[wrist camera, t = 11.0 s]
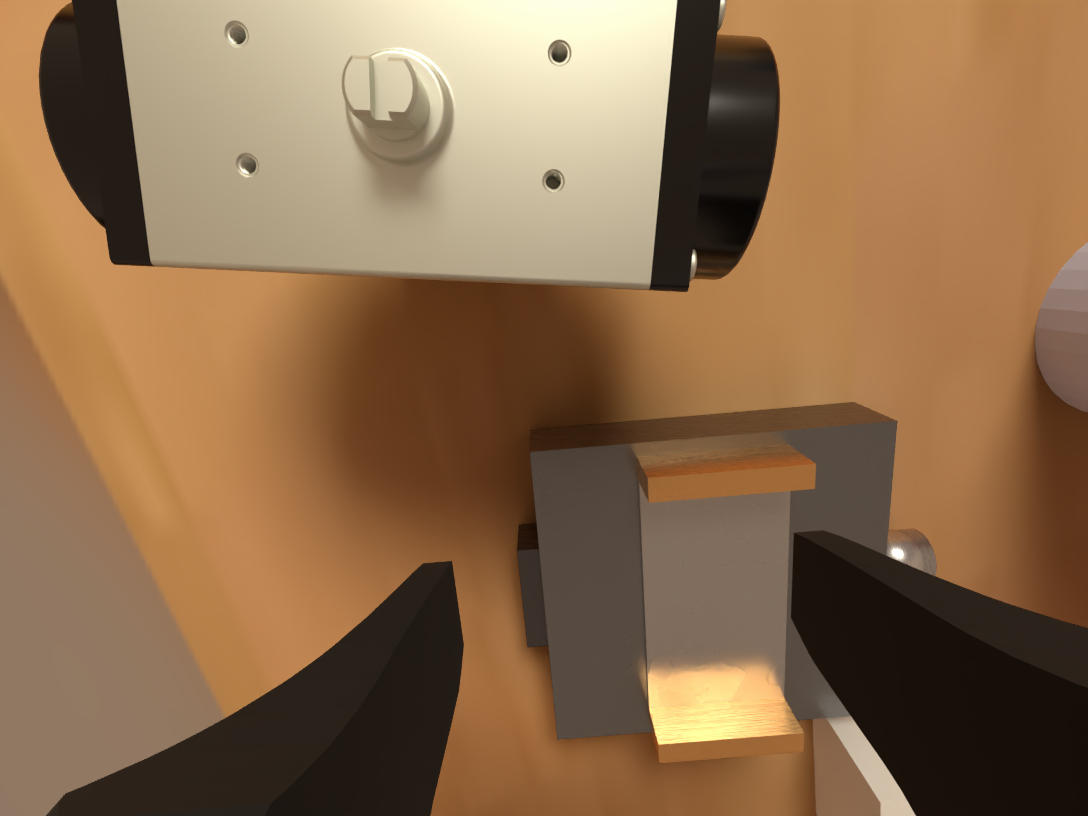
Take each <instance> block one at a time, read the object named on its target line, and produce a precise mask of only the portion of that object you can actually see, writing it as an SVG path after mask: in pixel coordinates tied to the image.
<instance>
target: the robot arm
mask: <svg viewBox="0 0 1088 816" xmlns="http://www.w3.org/2000/svg"><path fill="white" fill-rule="evenodd" d="M1035 351H1036V357H1037V363H1038V366H1039V369H1040V371H1041V373H1042V376H1043V378H1044V380H1045V382H1046V383H1047V384H1048V386H1049V387H1050V389H1051V390H1052V391H1053V393H1054V394H1056V395H1057V396H1058V397H1059V398H1060V399H1062V400H1063V401H1064V402H1065V403H1066V404H1068V405H1070V406H1072V407H1074V408H1076V409H1079V410H1081V411H1084V412H1087V413H1088V242H1087V243H1086V244H1085V245H1084V246H1083V247H1081V248H1080V249H1079V250H1078V251H1077V252H1075V254H1074V255H1073V256H1072V257H1071V258H1070V259H1069V260H1068V262H1067V263H1066V264H1065V265H1064V266H1063V267H1062V268H1061V270H1060V271H1059V273H1058V274H1057V276H1056V278H1055V279H1054V281H1053V282H1052V284H1051V285H1050V287H1049V289H1048V291H1047V293H1046V296H1045V298H1044V300H1043V303H1042V305H1041V307H1040V311H1039V315H1038V320H1037V324H1036V330H1035ZM791 619H792V621H793V623H794V625H795V627H796V629H797V631H798V633H799V635H800V637H801V639H802V641H803V643H804V645H805V647H806V649H807V651H808V653H809V655H810V656H811V658H812V660H813V662H814V663H815V665H816V666H817V668H818V669H819V671H820V672H821V674H822V675H823V677H824V678H825V680H826V681H827V683H828V684H829V686H830V687H831V688H832V690H833V691H834V693H835V694H836V696H837V697H838V699H839V700H840V701H841V703H842V704H843V706H844V707H845V709H846V710H847V711H848V713H849V714H850V716H851V717H852V719H853V720H854V721H855V723H856V724H857V726H858V727H859V729H860V730H861V731H862V733H863V734H864V736H865V737H866V739H867V740H868V741H869V743H870V744H871V746H872V747H873V749H874V750H875V751H876V753H877V754H878V756H879V757H880V759H881V760H882V761H883V763H884V764H885V766H886V767H887V769H888V771H889V772H890V774H891V775H892V777H893V778H894V780H895V781H896V783H897V785H898V786H899V788H900V789H901V791H902V793H903V794H904V796H905V798H906V800H907V801H908V803H909V805H910V807H911V808H912V810H913V812H914V814H915V815H916V816H1088V628H1085V627H1081V626H1078V625H1074V624H1071V623H1067V622H1064V621H1060V620H1057V619H1054V618H1051V617H1047V616H1044V615H1041V614H1038V613H1035V612H1032V611H1029V610H1026V609H1022V608H1019V607H1016V606H1013V605H1010V604H1007V603H1004V602H1001V601H998V600H996V599H993V598H990V597H987V596H984V595H982V594H979V593H977V592H974V591H971V590H969V589H966V588H964V587H961V586H958V585H956V584H953V583H950V582H948V581H945V580H943V579H941V578H938V577H936V576H933V575H931V574H928V573H926V572H924V571H921V570H919V569H916V568H914V567H912V566H909V565H907V564H905V563H902V562H900V561H898V560H895V559H893V558H891V557H889V556H886V555H884V554H882V553H879V552H877V551H875V550H872V549H870V548H868V547H866V546H863V545H861V544H859V543H856V542H854V541H851V540H849V539H846V538H844V537H841V536H839V535H836V534H833V533H830V532H827V531H824V530H820V531H808V532H796V533H794V538H793V568H792V598H791ZM463 647H464V643H463V636H462V629H461V622H460V615H459V608H458V601H457V593H456V586H455V579H454V572H453V565H452V561H447V562H435V563H423V564H422V565H421V566H420V567H419V568H418V569H417V570H415V571H414V572H413V573H412V574H411V575H410V576H409V577H408V578H407V579H406V580H405V581H404V582H403V583H402V584H401V585H400V586H399V587H398V588H397V589H396V590H395V591H394V592H393V593H392V594H391V595H390V596H389V597H388V598H387V599H386V600H385V601H384V602H383V603H381V604H380V605H379V606H378V607H377V608H376V609H375V610H374V611H373V612H372V613H371V614H370V615H369V616H368V617H367V618H365V619H364V620H363V621H362V622H361V623H360V624H358V625H357V626H356V627H355V628H354V629H353V630H351V631H350V632H349V633H348V634H347V635H346V636H344V637H343V638H342V639H341V640H340V641H339V642H338V643H336V644H335V645H334V646H333V647H332V648H330V649H329V650H328V651H326V652H325V653H324V654H323V655H321V656H320V657H319V658H317V659H316V660H315V661H313V662H312V663H311V664H309V665H308V666H306V667H305V668H304V669H302V670H301V671H299V672H298V673H297V674H295V675H294V676H292V677H291V678H290V679H288V680H287V681H285V682H284V683H282V684H281V685H279V686H277V687H276V688H274V689H273V690H271V691H269V692H268V693H266V694H264V695H263V696H261V697H260V698H258V699H256V700H255V701H253V702H252V703H250V704H248V705H247V706H245V707H243V708H242V709H240V710H239V711H237V712H235V713H234V714H232V715H230V716H228V717H227V718H225V719H223V720H221V721H220V722H218V723H216V724H214V725H213V726H210V727H208V728H207V729H205V730H203V731H201V732H199V733H197V734H196V735H193V736H191V737H189V738H188V739H186V740H184V741H181V742H180V743H178V744H176V745H174V746H172V747H170V748H168V749H166V750H164V751H161V752H159V753H158V754H155V755H153V756H151V757H149V758H147V759H144V760H142V761H140V762H138V763H135V764H133V765H131V766H129V767H126V768H124V769H122V770H120V771H117V772H115V773H113V774H110V775H108V776H106V777H104V778H101V779H99V780H97V781H95V782H92V783H90V784H88V785H86V786H83V787H81V788H78V789H76V790H73V791H71V792H68V793H66V794H65V795H64V796H63V797H62V798H61V800H59V802H58V803H57V804H56V805H55V806H54V807H53V808H52V809H51V811H50V812H49V813H48V814H47V815H46V816H430V815H431V810H432V804H433V799H434V795H435V791H436V787H437V783H438V778H439V774H440V770H441V766H442V761H443V757H444V753H445V749H446V744H447V740H448V736H449V732H450V727H451V723H452V719H453V714H454V710H455V706H456V701H457V697H458V692H459V685H460V677H461V668H462V658H463Z"/></svg>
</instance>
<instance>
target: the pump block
mask: <svg viewBox="0 0 1088 816" xmlns="http://www.w3.org/2000/svg"><path fill="white" fill-rule="evenodd" d="M813 743H814V770H815V797H816V816H916V815H915V814H914V812H913V810H912V808H911V807H910V805H909V803H908V801H907V800H906V798H905V796H904V794H903V793H902V791H901V789H900V788H899V786H898V785H897V783H896V781H895V780H894V778H893V777H892V775H891V774H890V772H889V771H888V769H887V767H886V766H885V764H884V763H883V761H882V760H881V759H880V757H879V756H878V754H877V753H876V751H875V750H874V749H873V747H872V746H871V744H870V743H869V741H868V740H867V739H866V737H865V736H864V734H863V733H862V731H861V730H860V729H859V727H858V726H857V724H856V723H855V721H854V720H853V719H852V717H851V716H846V717H833V718H821V719H813Z"/></svg>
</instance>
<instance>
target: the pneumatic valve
mask: <svg viewBox="0 0 1088 816" xmlns="http://www.w3.org/2000/svg"><path fill="white" fill-rule="evenodd" d="M726 2H727V0H72V2H71V3H69V4H67V5H66V6H65V7H64V8H62V9H61V10H60V11H59V12H58V13H57V14H56V16H55V17H54V18H53V20H52V22H51V23H50V25H49V27H48V29H47V32H46V34H45V38H44V42H43V46H42V49H41V54H40V67H39V89H40V98H41V106H42V111H43V116H44V121H45V124H46V128H47V132H48V135H49V139H50V141H51V144H52V147H53V150H54V152H55V155H56V157H57V159H58V162H59V164H60V166H61V169H62V171H63V173H64V174H65V176H66V178H67V180H68V182H69V184H70V186H71V187H72V189H73V190H74V192H75V193H76V195H77V197H78V198H79V200H80V201H81V202H82V204H83V205H84V206H85V208H86V209H87V210H88V211H89V213H90V214H91V215H92V216H93V217H94V218H95V219H96V220H97V221H98V223H99V224H101V225H102V226H103V227H104V228H105V229H106V235H107V242H108V249H109V256H110V260H111V262H112V263H113V264H115V265H132V266H153V267H174V268H195V269H216V270H237V271H258V272H279V273H300V274H321V275H341V276H362V277H383V278H404V279H425V280H446V281H467V282H488V283H509V284H530V285H551V286H572V287H593V288H614V289H635V290H656V291H677V292H687V291H688V288H689V282H690V281H691V280H692V279H708V280H716V279H721V278H722V277H724V276H726V275H727V274H729V273H730V272H731V270H732V269H733V268H734V267H735V266H736V265H737V264H738V262H739V261H740V259H741V258H742V256H743V254H744V252H745V251H746V249H747V247H748V245H749V243H750V240H751V238H752V236H753V234H754V231H755V229H756V226H757V223H758V221H759V218H760V215H761V211H762V208H763V205H764V202H765V199H766V195H767V191H768V187H769V182H770V178H771V174H772V169H773V164H774V158H775V152H776V145H777V137H778V128H779V113H780V87H779V75H778V69H777V64H776V60H775V56H774V54H773V51H772V49H771V47H770V46H769V44H768V43H767V42H766V41H765V40H763V39H762V38H760V37H751V36H734V35H717V32H718V30H719V29H720V27H721V25H722V22H723V19H724V15H725V10H726Z"/></svg>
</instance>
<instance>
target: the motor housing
mask: <svg viewBox="0 0 1088 816" xmlns="http://www.w3.org/2000/svg"><path fill="white" fill-rule="evenodd" d="M896 430H897V421H896V420H894V419H892V418H889V417H887V416H885V415H882V414H880V413H878V412H875V411H873V410H871V409H869V408H866V407H864V406H862V405H859V404H857V403H855V402H852V403H840V404H828V405H816V406H805V407H793V408H781V409H770V410H758V411H746V412H734V413H723V414H711V415H699V416H687V417H676V418H664V419H652V420H641V421H629V422H617V423H605V424H594V425H582V426H570V427H558V428H547V429H535V430H531V431H530V460H531V470H532V481H533V491H534V501H535V512H536V522H537V523H535V524H523V525H519V531H518V546H517V554H518V563H519V572H520V581H521V591H522V600H523V609H524V618H525V628H526V637H527V646H528V647H537V646H549V656H550V667H551V677H552V687H553V698H554V708H555V718H556V728H557V739H558V740H559V739H571V738H584V737H596V736H608V735H621V734H633V733H646V732H652V736H653V740H654V744H655V749H656V753H657V757H658V761H659V763H669V762H682V761H694V760H707V759H719V758H732V757H744V756H757V755H770V754H782V753H795V752H804V731H803V730H802V728H801V726H800V724H799V723H798V721H797V720H808V719H821V718H833V717H846V716H850V714H849V713H848V711H847V710H846V709H845V707H844V706H843V704H842V703H841V701H840V700H839V699H838V697H837V696H836V694H835V693H834V691H833V690H832V688H831V687H830V686H829V684H828V683H827V681H826V680H825V678H824V677H823V675H822V674H821V672H820V671H819V669H818V668H817V666H816V665H815V663H814V662H813V660H812V658H811V656H810V655H809V653H808V651H807V649H806V647H805V645H804V643H803V641H802V639H801V637H800V635H799V633H798V631H797V629H796V627H795V625H794V623H793V621H792V619H791V598H792V568H793V538H794V533H796V532H808V531H820V530H824V531H827V532H830V533H833V534H836V535H839V536H841V537H844V538H846V539H849V540H851V541H854V542H856V543H859V544H861V545H863V546H866V547H868V548H870V549H872V550H875V551H877V552H879V553H882V554H884V555H886V556H889V557H891V558H893V559H895V560H898V561H900V562H902V563H905V564H907V565H909V566H912V567H914V568H916V569H919V570H921V571H924V572H926V573H928V574H931V575H933V576H935V574H936V567H937V566H936V558H935V554H934V551H933V548H932V546H931V544H930V542H929V541H928V539H927V538H926V537H925V536H924V535H923V534H922V533H921V532H920V531H918V530H916V529H899V530H888V528H889V516H890V503H891V491H892V479H893V467H894V454H895V442H896Z"/></svg>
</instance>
